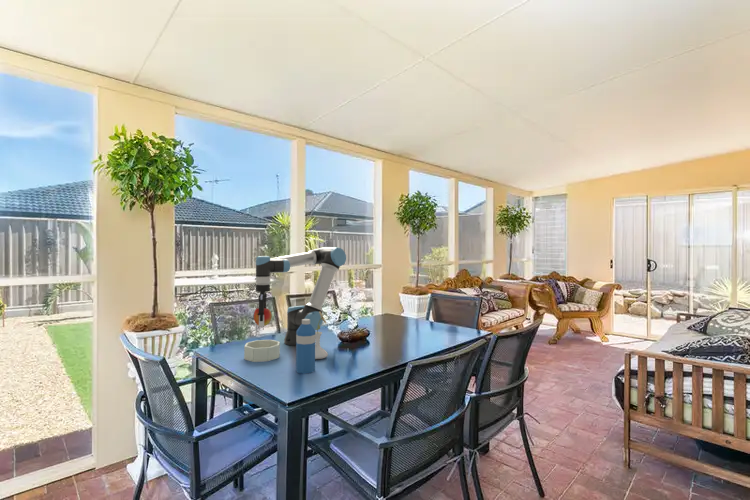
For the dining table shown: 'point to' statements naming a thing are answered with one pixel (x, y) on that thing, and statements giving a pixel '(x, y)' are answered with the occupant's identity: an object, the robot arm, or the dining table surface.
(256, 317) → the apple
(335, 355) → the dining table surface
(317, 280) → the robot arm
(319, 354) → the flower in vase
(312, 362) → the water bottle
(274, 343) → the white faceted bowl
